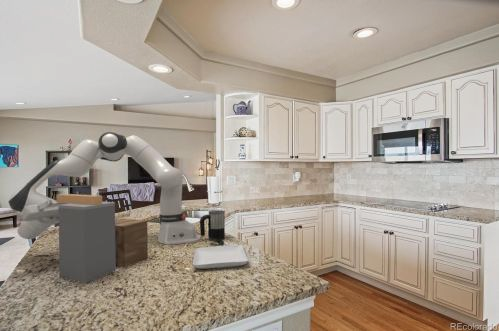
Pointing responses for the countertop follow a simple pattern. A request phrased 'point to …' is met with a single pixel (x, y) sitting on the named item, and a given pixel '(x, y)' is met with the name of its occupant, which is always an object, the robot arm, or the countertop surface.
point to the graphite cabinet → (86, 241)
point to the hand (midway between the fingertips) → (63, 200)
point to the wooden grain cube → (130, 241)
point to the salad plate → (219, 257)
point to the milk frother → (214, 226)
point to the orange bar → (79, 199)
